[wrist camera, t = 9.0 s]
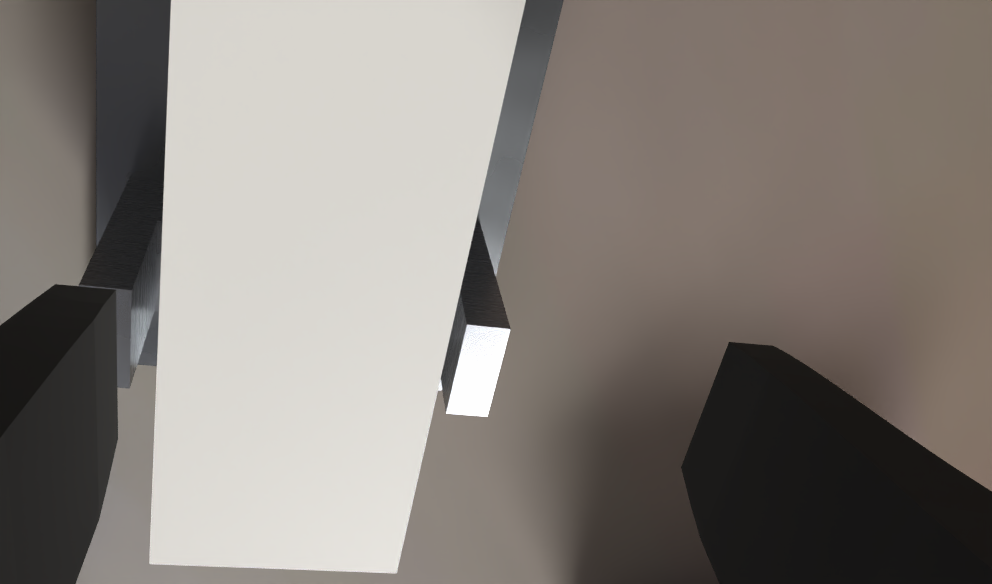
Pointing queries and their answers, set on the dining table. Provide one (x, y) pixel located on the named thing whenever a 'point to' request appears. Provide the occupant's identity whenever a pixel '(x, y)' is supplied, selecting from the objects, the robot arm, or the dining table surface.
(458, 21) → the rail
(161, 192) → the cup brackets
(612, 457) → the dining table surface
